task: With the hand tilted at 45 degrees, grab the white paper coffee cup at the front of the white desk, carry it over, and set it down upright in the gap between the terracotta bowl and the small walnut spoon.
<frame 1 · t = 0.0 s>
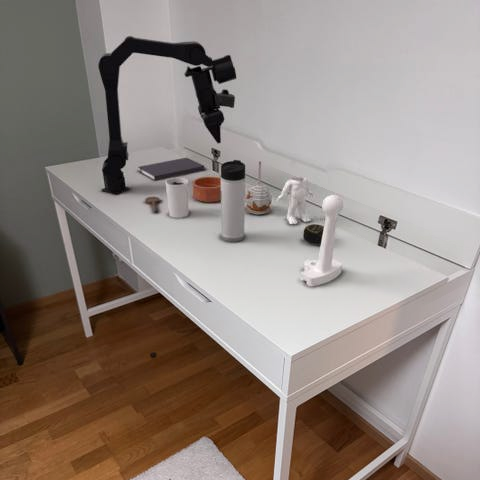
hand: (217, 139, 152), 15 cm above the table, tool pointing down, fingers open, 9 cm apart
notebook: (171, 170, 174), on the table
decorative ornament: (258, 211, 143), on the table
walnut spoon: (152, 201, 148), on the table
white paper coffee cup: (178, 214, 140), on the table
joystick: (317, 275, 111), on the table
tape measure: (317, 242, 126), on the table
toy creature: (296, 220, 138), on the table
travel mug: (232, 237, 128), on the table
terracotta bowl: (210, 197, 152), on the table
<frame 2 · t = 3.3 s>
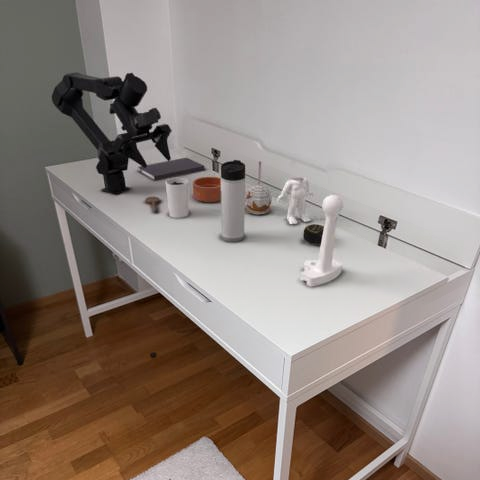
hand: (158, 163, 136), 14 cm above the table, tool tilted 45°, fingers open, 9 cm apart
nothing on the table moved.
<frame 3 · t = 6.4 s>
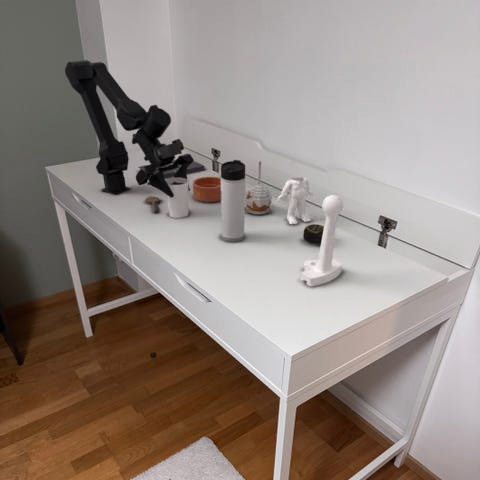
hand: (180, 193, 135), 7 cm above the table, tool tilted 45°, fingers closed on white paper coffee cup, 6 cm apart
white paper coffee cup: (179, 214, 140), on the table, touching gripper
everything else where it was.
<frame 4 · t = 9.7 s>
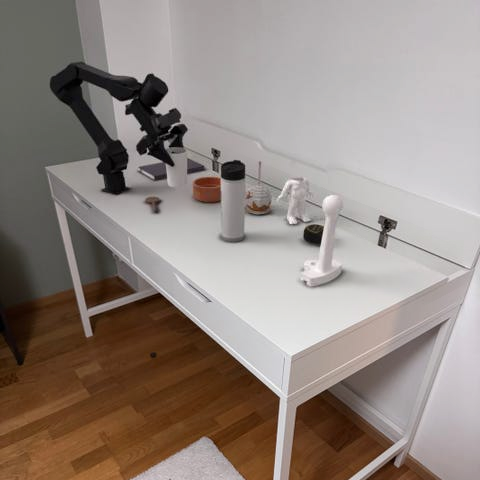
hand: (180, 163, 137), 13 cm above the table, tool tilted 45°, fingers closed on white paper coffee cup, 6 cm apart
white paper coffee cup: (177, 184, 141), point 7 cm above the table, touching gripper
everything else where it was.
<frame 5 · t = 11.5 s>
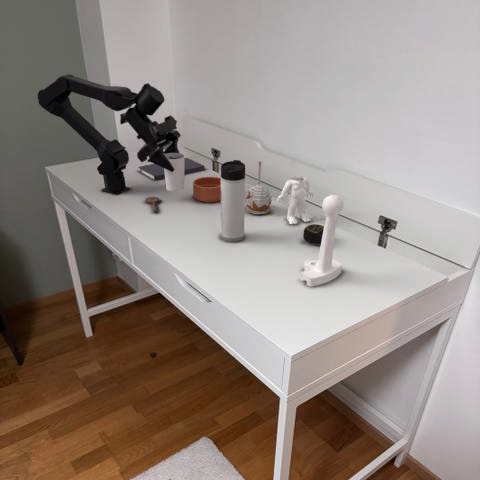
hand: (178, 167, 143), 10 cm above the table, tool tilted 45°, fingers closed on white paper coffee cup, 6 cm apart
white paper coffee cup: (175, 188, 147), point 4 cm above the table, touching gripper
everything else where it was.
when the fingers open (7 cm above the table, at t = 13.1 s): white paper coffee cup stays where it is, on the table.
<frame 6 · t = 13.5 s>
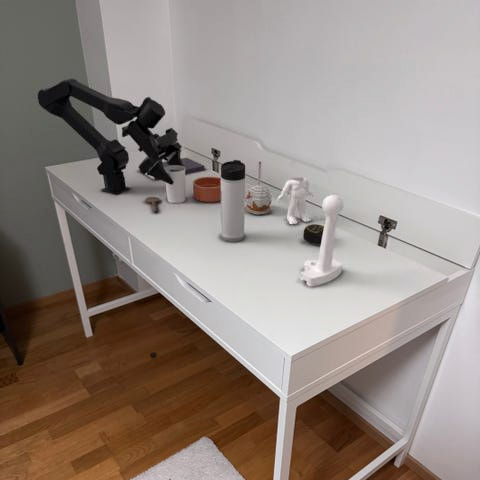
hand: (179, 179, 145), 7 cm above the table, tool tilted 45°, fingers open, 9 cm apart
white paper coffee cup: (176, 200, 149), on the table
everything else where it was.
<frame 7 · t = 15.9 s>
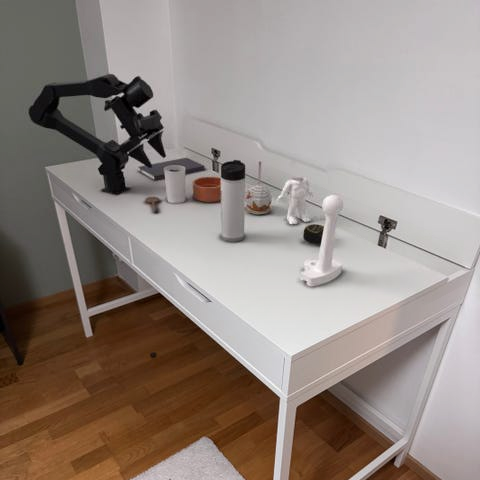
hand: (158, 162, 147), 11 cm above the table, tool tilted 35°, fingers open, 9 cm apart
nothing on the table moved.
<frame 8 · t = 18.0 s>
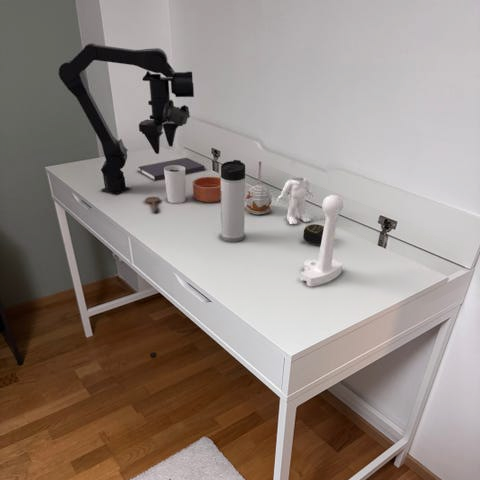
hand: (164, 149, 149), 13 cm above the table, tool pointing down, fingers open, 9 cm apart
nothing on the table moved.
at the end: white paper coffee cup 0.1 cm from the target spot, on the table; white paper coffee cup tilted 0°; the gripper is holding nothing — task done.
